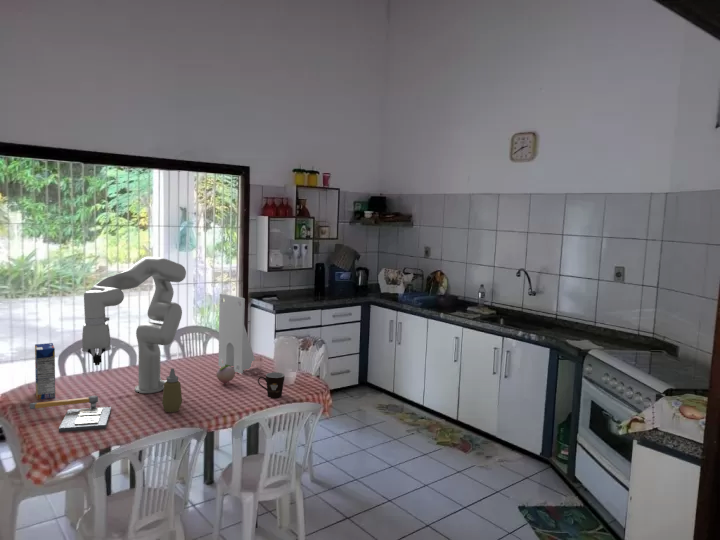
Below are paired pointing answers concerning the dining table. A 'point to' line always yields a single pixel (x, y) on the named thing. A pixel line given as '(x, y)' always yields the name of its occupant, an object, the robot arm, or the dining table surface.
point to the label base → (85, 419)
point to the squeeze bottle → (172, 393)
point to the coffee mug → (274, 384)
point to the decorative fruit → (225, 374)
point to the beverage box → (45, 370)
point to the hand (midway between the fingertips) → (97, 364)
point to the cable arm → (64, 402)
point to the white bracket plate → (233, 334)
